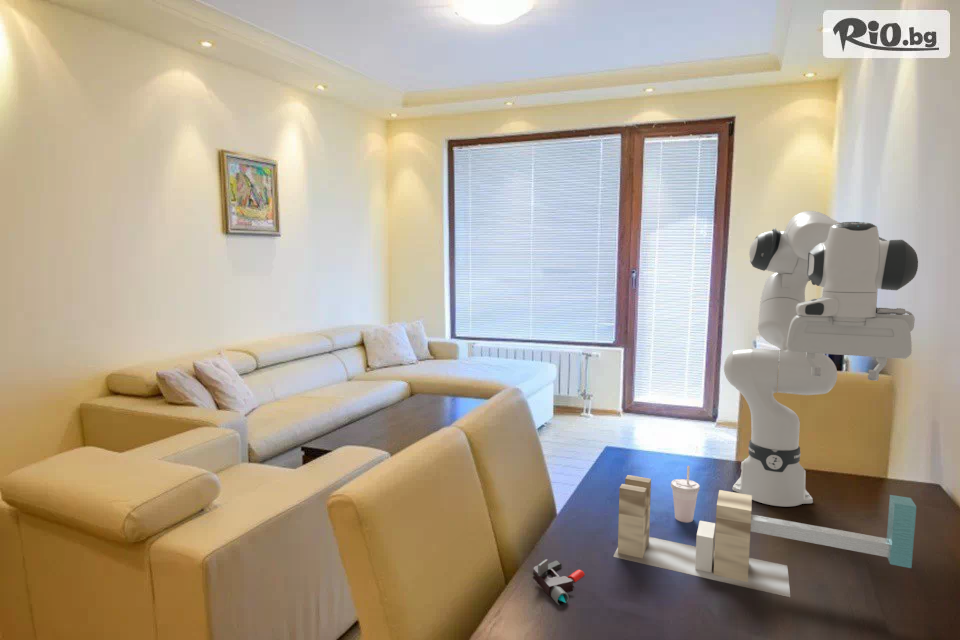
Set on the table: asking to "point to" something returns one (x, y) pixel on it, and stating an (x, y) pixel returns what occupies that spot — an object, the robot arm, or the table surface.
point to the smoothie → (684, 498)
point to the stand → (728, 552)
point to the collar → (705, 546)
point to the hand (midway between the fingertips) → (843, 377)
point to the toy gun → (555, 580)
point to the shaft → (892, 547)
